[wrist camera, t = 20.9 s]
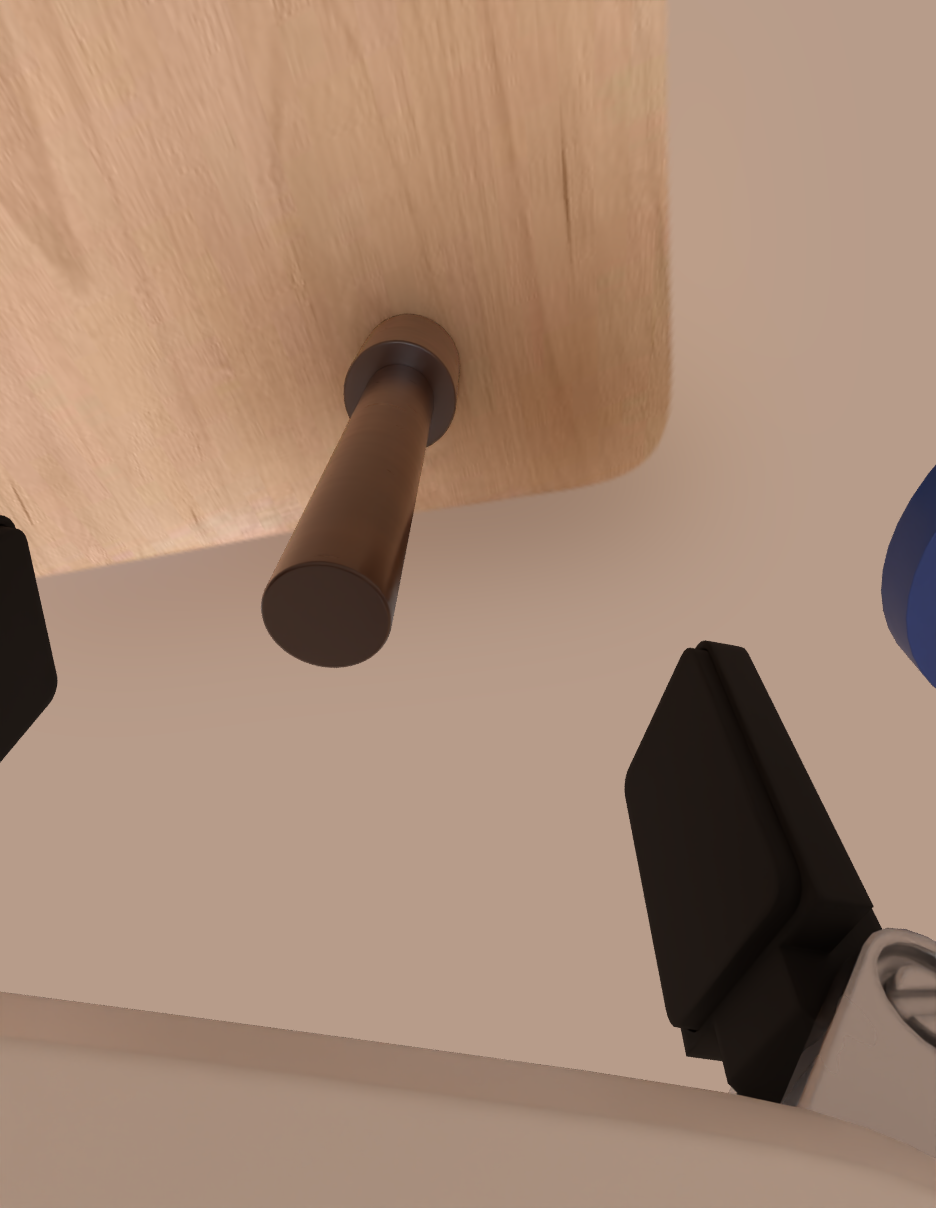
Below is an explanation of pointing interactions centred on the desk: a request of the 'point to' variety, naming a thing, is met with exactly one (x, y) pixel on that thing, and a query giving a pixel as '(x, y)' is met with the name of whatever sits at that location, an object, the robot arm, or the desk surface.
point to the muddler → (365, 499)
